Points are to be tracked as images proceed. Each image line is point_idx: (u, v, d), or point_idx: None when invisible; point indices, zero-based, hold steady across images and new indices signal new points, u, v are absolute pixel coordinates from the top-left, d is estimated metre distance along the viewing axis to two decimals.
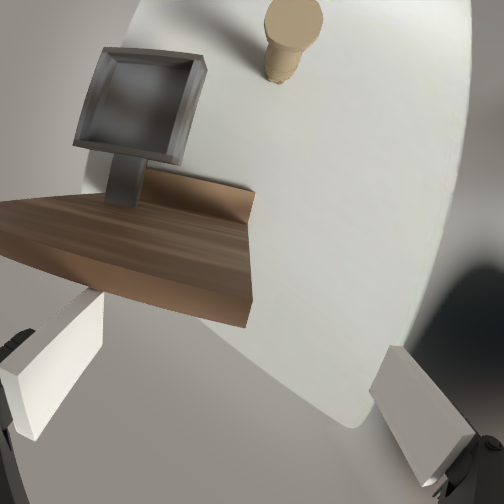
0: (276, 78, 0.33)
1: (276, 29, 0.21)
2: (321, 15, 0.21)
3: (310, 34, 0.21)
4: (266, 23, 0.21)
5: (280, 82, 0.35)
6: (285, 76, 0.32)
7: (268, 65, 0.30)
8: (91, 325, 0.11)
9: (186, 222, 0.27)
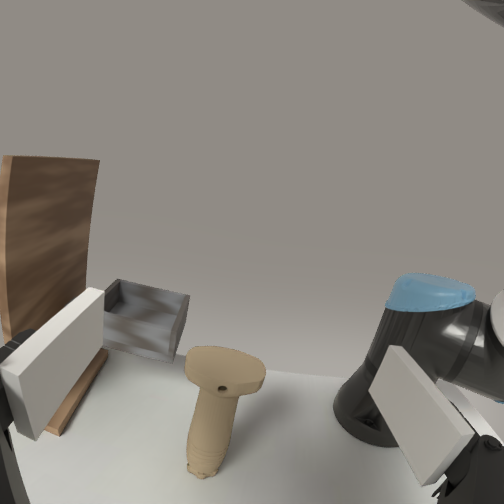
0: None
1: (205, 351, 0.25)
2: (241, 382, 0.22)
3: (208, 372, 0.22)
4: (211, 346, 0.26)
5: (187, 465, 0.26)
6: (188, 450, 0.25)
7: None
8: (92, 325, 0.11)
9: (39, 313, 0.27)
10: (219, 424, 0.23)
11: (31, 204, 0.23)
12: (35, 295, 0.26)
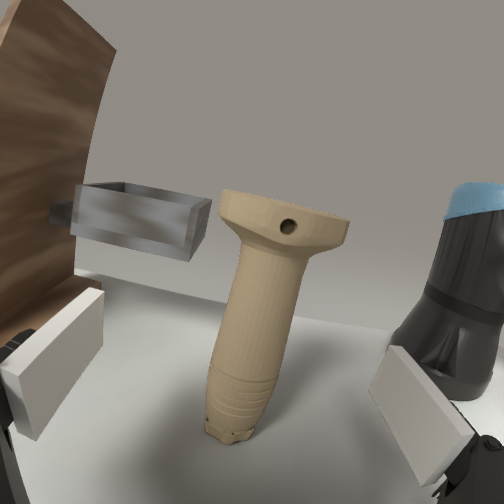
0: (206, 391, 0.18)
1: (251, 194, 0.16)
2: (320, 214, 0.13)
3: (262, 200, 0.14)
4: (257, 195, 0.17)
5: (206, 420, 0.18)
6: (210, 389, 0.17)
7: None
8: (92, 325, 0.11)
9: (14, 191, 0.19)
10: (272, 318, 0.15)
11: (36, 41, 0.15)
12: (13, 160, 0.18)
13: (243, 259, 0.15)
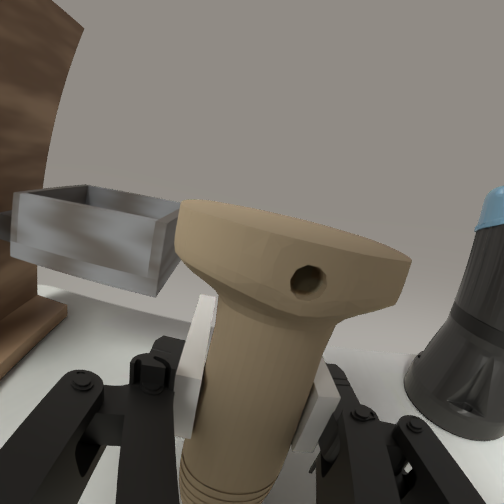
0: None
1: (236, 208, 0.09)
2: (370, 254, 0.06)
3: (255, 224, 0.07)
4: (248, 207, 0.10)
5: None
6: (183, 486, 0.10)
7: None
8: None
9: None
10: (271, 422, 0.08)
11: None
12: None
13: (221, 327, 0.08)
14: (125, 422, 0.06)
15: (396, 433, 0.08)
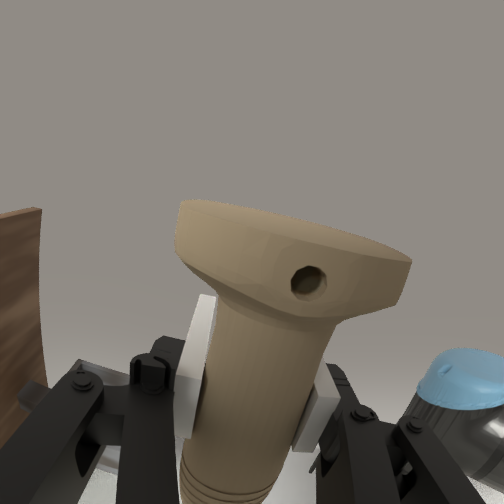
0: None
1: (236, 208, 0.09)
2: (371, 254, 0.06)
3: (255, 224, 0.07)
4: None
5: None
6: (183, 486, 0.10)
7: None
8: None
9: None
10: (272, 422, 0.08)
11: None
12: None
13: (221, 328, 0.08)
14: (125, 422, 0.06)
15: (396, 433, 0.08)
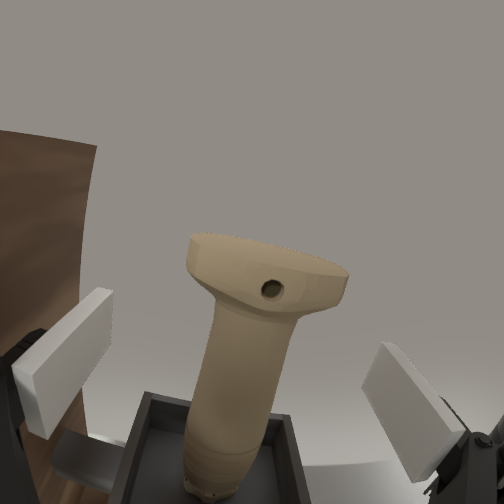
0: None
1: (228, 238, 0.14)
2: (313, 272, 0.10)
3: (239, 253, 0.11)
4: (236, 237, 0.14)
5: (185, 480, 0.14)
6: (186, 453, 0.13)
7: None
8: (101, 324, 0.11)
9: None
10: (253, 390, 0.12)
11: None
12: None
13: (217, 321, 0.12)
14: None
15: (502, 447, 0.06)
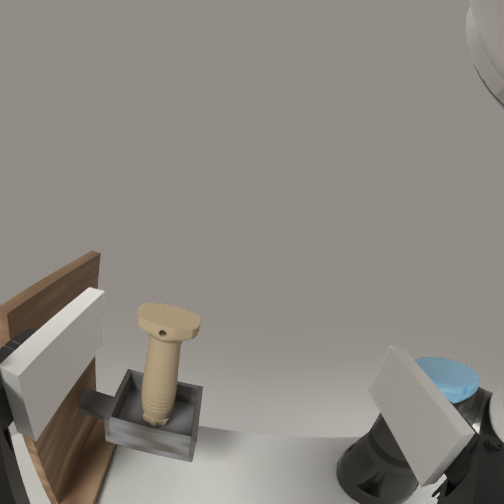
0: None
1: (155, 306, 0.31)
2: (177, 328, 0.28)
3: (152, 319, 0.28)
4: None
5: (143, 413, 0.32)
6: (142, 396, 0.31)
7: None
8: (91, 325, 0.11)
9: (58, 423, 0.25)
10: (163, 368, 0.30)
11: None
12: None
13: (149, 340, 0.30)
14: None
15: None
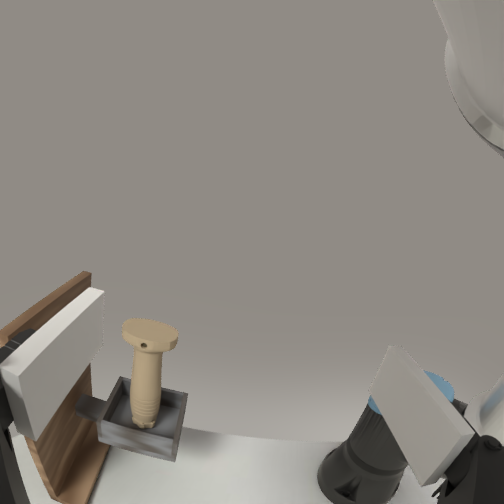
0: None
1: (138, 321, 0.34)
2: (156, 341, 0.31)
3: (135, 333, 0.31)
4: (143, 319, 0.35)
5: (132, 416, 0.35)
6: (130, 401, 0.34)
7: None
8: (92, 325, 0.11)
9: (56, 425, 0.28)
10: (147, 376, 0.32)
11: None
12: None
13: (134, 351, 0.33)
14: None
15: None
